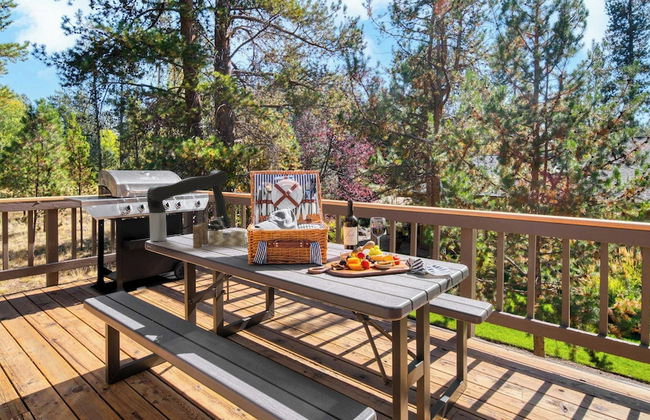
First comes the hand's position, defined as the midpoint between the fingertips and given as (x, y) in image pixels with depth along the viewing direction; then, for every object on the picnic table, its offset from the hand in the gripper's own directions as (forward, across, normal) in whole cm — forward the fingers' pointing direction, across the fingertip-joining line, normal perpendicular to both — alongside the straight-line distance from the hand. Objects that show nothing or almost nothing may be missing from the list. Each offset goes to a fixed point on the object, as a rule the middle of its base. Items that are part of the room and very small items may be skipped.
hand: (208, 228), depth 257 cm
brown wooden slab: (+16, 0, +7) cm, 18 cm away
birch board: (+16, +15, +7) cm, 23 cm away
